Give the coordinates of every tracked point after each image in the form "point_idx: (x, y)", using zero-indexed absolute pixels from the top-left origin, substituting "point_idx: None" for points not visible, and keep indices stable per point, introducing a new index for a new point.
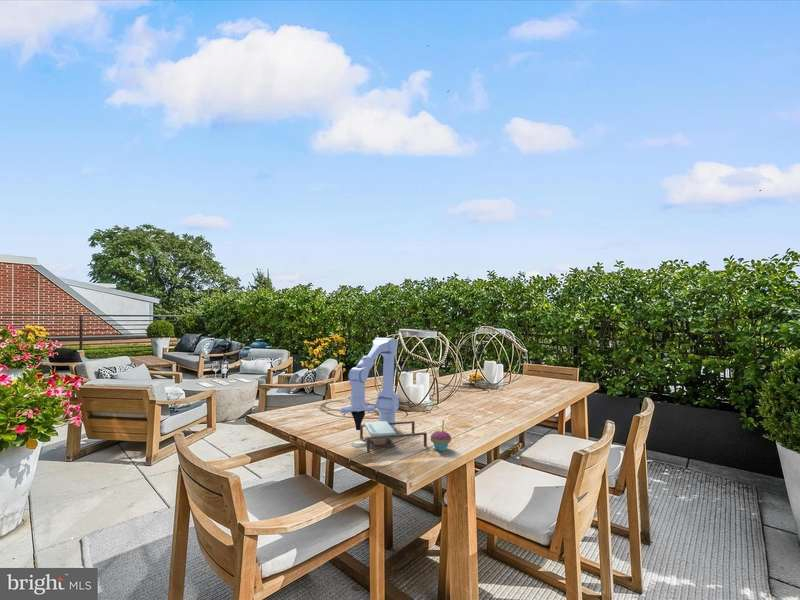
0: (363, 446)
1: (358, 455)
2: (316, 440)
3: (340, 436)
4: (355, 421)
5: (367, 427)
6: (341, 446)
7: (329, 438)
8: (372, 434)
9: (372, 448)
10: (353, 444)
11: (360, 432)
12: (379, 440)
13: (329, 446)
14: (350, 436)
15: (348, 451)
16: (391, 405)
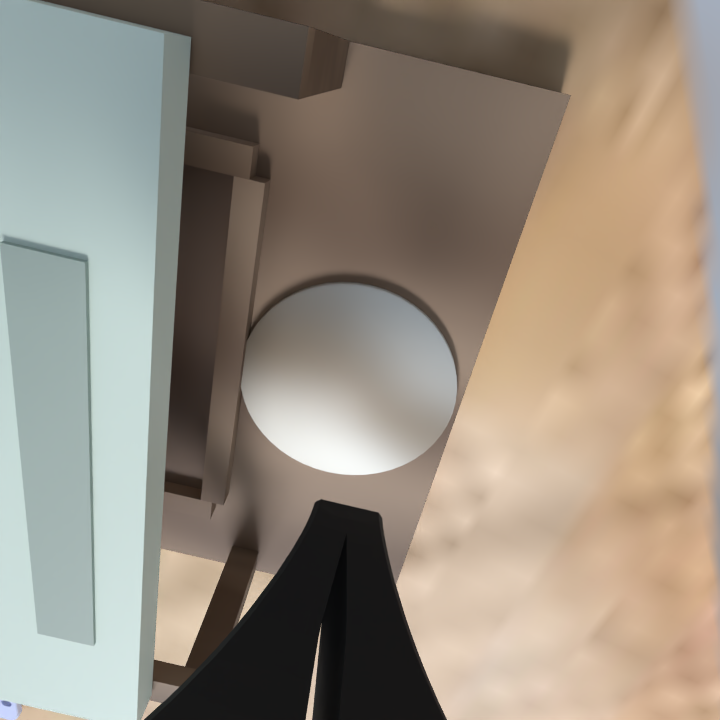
0: (324, 286)
1: (493, 73)
2: (661, 709)
3: None
4: (422, 685)
5: (137, 537)
6: (530, 481)
7: (525, 697)
8: (133, 29)
9: (227, 136)
10: (424, 405)
11: (239, 607)
12: None
13: (647, 538)
14: None
15: (540, 298)
16: None
